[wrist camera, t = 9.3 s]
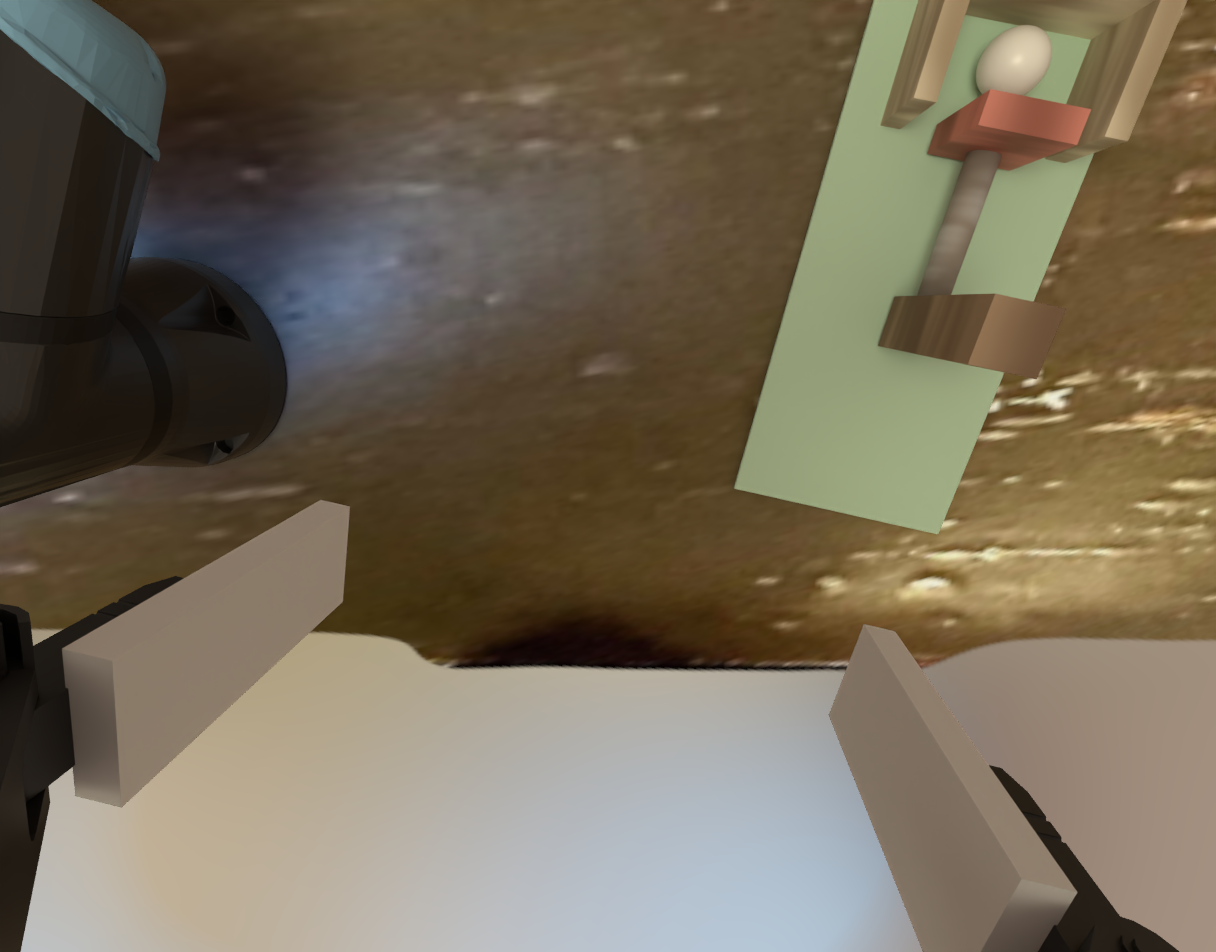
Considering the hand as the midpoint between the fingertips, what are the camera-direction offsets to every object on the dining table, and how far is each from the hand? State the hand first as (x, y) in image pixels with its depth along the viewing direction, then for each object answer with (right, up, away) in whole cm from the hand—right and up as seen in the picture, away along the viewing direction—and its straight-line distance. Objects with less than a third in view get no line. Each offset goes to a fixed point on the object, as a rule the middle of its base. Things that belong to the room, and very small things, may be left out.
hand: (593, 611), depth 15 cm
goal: (+23, +27, +20) cm, 41 cm away
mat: (+20, +16, +23) cm, 35 cm away
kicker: (+21, +18, +22) cm, 35 cm away
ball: (+23, +26, +18) cm, 39 cm away
